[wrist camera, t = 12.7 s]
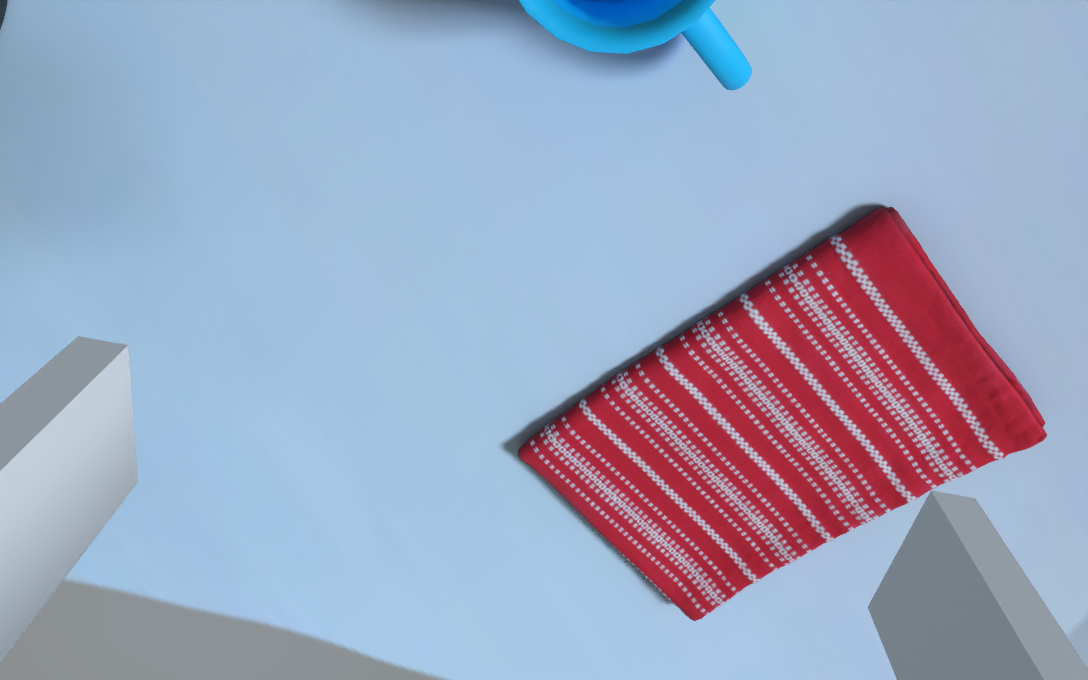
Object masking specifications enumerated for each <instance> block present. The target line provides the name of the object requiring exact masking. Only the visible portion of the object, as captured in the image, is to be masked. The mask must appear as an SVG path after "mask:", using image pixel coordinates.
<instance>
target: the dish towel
mask: <svg viewBox="0 0 1088 680" xmlns="http://www.w3.org/2000/svg"><path fill="white" fill-rule="evenodd" d="M1044 425H1045V421H1044V420H1043V418H1042V416H1041V414H1040V413H1039V411H1038V410H1037V408H1036V406H1035V405H1034V403H1033V401H1032V399H1031V397H1030V396H1029V394H1028V393H1027V392H1026V390H1025V389H1024V388H1023V386H1022V385H1021V384H1020V382H1019V381H1018V380H1017V378H1016V376H1015V375H1014V374H1013V373H1012V371H1011V370H1010V369H1009V368H1008V366H1007V365H1006V364H1005V363H1004V362H1003V360H1002V359H1001V358H1000V357H999V356H998V354H997V353H996V352H995V351H994V350H993V348H992V347H991V346H990V345H989V344H988V343H987V342H986V341H985V339H984V338H983V337H982V336H981V335H980V334H979V332H978V331H977V329H976V328H975V327H974V325H973V324H972V322H971V320H970V319H969V317H968V316H967V314H966V312H965V311H964V309H963V308H962V307H961V305H960V304H959V302H958V301H957V299H956V298H955V296H954V295H953V293H952V292H951V290H950V289H949V287H948V286H947V284H946V283H945V281H944V280H943V279H942V277H941V276H940V274H939V273H938V272H937V270H936V269H935V267H934V266H933V264H932V263H931V262H930V260H929V258H928V256H927V255H926V253H925V252H924V250H923V249H922V247H921V245H920V243H919V242H918V241H917V239H916V238H915V236H914V235H913V234H912V232H911V231H910V229H909V228H908V226H907V225H906V223H905V222H904V220H903V219H902V218H901V216H900V215H899V213H898V212H897V211H896V210H895V209H894V208H893V207H889V208H887V209H883V208H882V207H880V208H878V209H876V210H874V211H873V212H871V213H870V214H868V215H867V216H865V217H864V218H862V219H861V220H859V221H858V222H856V223H855V224H854V225H852V226H851V227H850V228H849V229H847V230H845V231H843V232H842V233H839V234H837V235H835V236H833V237H831V238H829V239H828V240H826V241H825V242H823V243H821V244H820V245H818V246H817V247H815V248H814V249H812V250H810V251H809V252H807V253H806V254H805V255H804V256H802V257H800V258H799V259H797V260H794V261H793V262H791V263H790V264H788V265H786V266H785V267H784V268H782V269H780V270H779V271H778V272H777V273H775V274H774V275H772V276H770V277H768V278H766V279H765V280H764V281H763V282H762V283H760V284H759V285H757V286H756V287H754V288H753V289H751V290H750V291H747V292H745V293H743V294H742V295H740V296H739V297H738V298H737V299H735V300H734V301H732V302H730V303H729V304H727V305H726V306H724V307H722V308H720V309H718V310H717V311H716V312H715V313H714V314H712V315H710V316H708V317H705V318H704V319H702V320H701V321H699V322H698V323H696V324H695V325H693V326H692V327H691V328H690V329H689V330H687V331H686V332H683V333H681V334H680V335H679V336H678V337H676V338H675V339H673V340H672V341H670V342H669V343H667V344H664V345H662V346H660V347H659V348H657V349H656V350H655V351H654V352H652V353H651V354H649V355H647V356H646V357H644V358H643V359H641V360H639V361H637V362H636V363H635V364H634V365H632V366H631V367H629V368H626V369H625V370H623V371H621V372H620V373H618V374H617V375H615V376H614V377H613V378H612V379H611V380H610V381H608V382H607V383H604V384H602V385H601V386H600V388H598V389H597V390H595V391H594V392H593V393H591V394H590V395H589V396H586V397H584V398H583V399H581V400H580V401H579V402H578V403H577V404H576V405H575V406H574V407H573V408H571V409H570V410H568V411H566V412H564V413H563V414H562V415H561V416H560V417H559V418H557V419H555V420H553V421H552V422H550V423H549V424H547V425H546V426H545V427H544V428H542V429H541V430H540V432H539V433H538V434H536V435H534V436H532V437H531V438H530V440H528V441H527V442H526V443H525V444H524V445H522V446H521V447H520V448H519V450H518V456H519V457H520V458H521V459H522V461H524V462H525V463H527V464H528V465H530V466H531V467H532V468H533V469H534V470H535V471H536V472H538V473H539V474H540V475H541V476H542V477H543V478H544V479H545V480H546V481H548V482H549V483H550V484H551V485H552V486H553V487H554V488H555V489H556V490H557V491H558V492H559V493H560V494H561V495H562V496H563V497H564V498H565V499H566V500H567V501H568V502H569V503H570V504H571V505H572V506H573V507H574V508H575V509H576V510H577V511H578V512H579V513H580V514H581V515H582V516H583V517H584V518H585V519H586V520H587V521H588V522H589V523H591V525H592V526H593V527H595V529H596V530H597V531H598V532H600V533H601V535H603V536H604V537H605V538H606V539H607V540H608V541H609V542H610V543H611V544H612V545H613V546H614V547H615V548H616V549H617V550H618V551H619V552H620V553H621V554H622V555H623V556H624V557H626V558H627V560H628V561H630V562H631V563H632V564H633V565H634V566H635V567H636V568H637V569H638V570H639V571H640V572H641V573H642V574H643V575H644V576H645V577H646V578H647V579H648V580H650V581H651V582H652V584H653V585H654V586H655V587H657V588H658V589H659V591H660V592H661V593H662V594H663V595H664V596H665V597H666V598H667V599H669V600H670V601H671V602H672V603H673V604H675V605H676V606H678V607H679V608H680V610H681V611H682V612H683V613H684V614H685V615H686V616H687V617H688V618H690V619H691V620H693V621H696V620H699V619H702V618H703V617H704V616H705V615H708V614H709V613H710V612H711V611H712V610H714V609H715V608H717V607H719V606H720V605H722V604H724V603H725V602H726V601H728V600H729V599H731V598H732V597H733V596H734V595H735V594H737V593H739V592H740V591H741V590H742V589H743V588H745V587H746V586H748V585H750V584H752V583H756V582H758V581H759V580H760V579H761V578H762V577H764V576H765V575H767V574H769V573H770V572H772V571H774V570H778V569H779V568H780V567H782V566H785V565H788V564H789V563H791V562H793V561H795V560H797V559H799V558H800V557H802V556H803V555H805V554H806V553H809V552H811V551H812V550H814V549H815V548H817V547H819V546H820V545H822V544H823V543H827V542H830V541H833V540H834V539H835V538H836V537H838V536H840V535H842V534H845V533H847V532H849V531H851V530H853V529H855V528H856V527H858V526H859V525H863V524H865V523H868V522H870V521H873V520H875V519H877V518H878V517H880V516H881V515H883V514H885V513H887V512H890V511H891V510H893V509H895V508H897V507H900V506H902V505H905V504H907V503H909V502H911V501H914V500H915V499H917V498H918V497H920V496H921V495H923V494H924V493H926V492H928V491H929V490H931V489H933V488H935V487H937V486H939V485H941V484H943V483H946V482H949V481H952V480H955V479H957V478H959V477H961V476H963V475H965V474H968V473H970V472H971V471H973V470H975V469H977V468H979V467H981V466H983V465H985V464H987V463H989V462H992V461H995V460H1000V459H1003V458H1004V457H1006V456H1007V455H1008V454H1010V453H1013V452H1017V451H1021V450H1025V449H1027V448H1030V447H1032V446H1034V445H1036V444H1038V443H1040V442H1042V441H1043V440H1044V439H1045V438H1046V436H1047V434H1046V432H1045V430H1044V429H1043V426H1044Z"/></svg>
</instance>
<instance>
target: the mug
mask: <svg viewBox="0 0 1088 680" xmlns="http://www.w3.org/2000/svg"><path fill="white" fill-rule="evenodd" d="M519 1H520V3H521V4H522V6H523V8H524V9H525V11H526V12H527V13H528V14H529V15H530V16H531V17H532V18H534V19H535V20H536V21H537V22H538V23H539V24H541V25H542V26H543V27H544V28H545V29H546V30H548V31H549V32H550V33H551V34H552V35H553V36H555V37H556V38H558V39H560V40H563V41H565V42H568V43H570V44H573V45H575V46H578V47H580V48H583V49H585V50H588V51H590V52H605V53H624V54H628V53H632V52H635V51H639V50H643V49H646V48H650V47H653V46H657V45H661V44H664V43H666V42H667V41H669V40H670V39H672V38H673V37H675V36H676V35H678V34H679V33H682V35H683V36H684V37H685V38H686V40H687V41H688V42H689V43H690V45H691V46H692V47H693V49H694V50H695V51H696V52H697V54H698V55H699V56H700V57H701V59H702V60H703V61H704V63H705V64H706V65H707V66H708V68H709V69H710V70H711V71H712V73H713V74H714V75H715V77H716V78H717V79H718V80H719V82H720V83H721V84H722V85H723V87H724V88H726V89H728V90H736V89H739V88H741V87H742V86H744V85H745V84H746V83H747V82H748V80H749V78H750V76H751V73H752V71H751V66H750V64H749V63H748V61H747V59H746V58H745V56H744V55H743V53H742V52H741V50H740V49H739V48H738V46H737V45H736V43H735V42H734V40H733V39H732V38H731V36H730V35H729V34H728V32H727V31H726V29H725V28H724V27H723V25H722V24H721V23H720V21H719V20H718V19H717V17H716V16H715V14H714V13H713V12H712V10H711V9H710V8H709V7H710V6H711V5H712V4H713V2H714V1H715V0H519Z"/></svg>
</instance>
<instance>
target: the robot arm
mask: <svg viewBox="0 0 1088 680" xmlns="http://www.w3.org/2000/svg"><path fill="white" fill-rule="evenodd" d="M6 7H7V0H0V29H1V26H2V23H3V20H4V16H5V11H6ZM137 482H138V478H137V464H136V450H135V436H134V422H133V408H132V394H131V380H130V366H129V352H128V345H123V344H118V343H112V342H107V341H101V340H96V339H90V338H84V337H79V336H78V337H77V338H76V339H75V340H74V341H72V342H71V343H70V344H69V345H68V346H67V347H65V348H64V349H63V350H62V351H61V352H60V353H59V354H57V355H56V356H55V357H54V358H53V359H52V360H50V361H49V362H48V363H47V364H46V365H45V366H44V367H42V368H41V369H40V370H39V371H38V372H37V373H35V374H34V375H33V376H32V377H31V378H30V379H29V380H27V381H26V382H25V383H24V384H23V385H22V386H21V387H19V388H18V389H17V390H16V391H15V392H14V393H12V394H11V395H10V396H9V397H8V398H7V399H6V400H4V401H3V402H2V403H1V404H0V662H1V661H2V660H3V658H4V657H5V656H6V655H7V653H8V652H9V650H10V649H11V648H12V647H13V645H14V644H15V643H16V641H17V640H18V639H19V637H20V636H21V634H22V633H23V632H24V630H25V629H26V628H27V627H28V626H29V624H30V623H31V622H32V620H33V619H34V617H35V616H36V615H37V614H38V612H39V611H40V610H41V609H42V607H43V606H44V604H45V603H46V602H47V600H48V599H49V598H50V597H51V595H52V594H53V593H54V591H55V590H56V589H57V588H58V586H59V585H60V584H61V582H62V581H63V580H64V578H65V577H66V576H67V574H68V573H69V572H70V570H71V569H72V568H73V567H74V565H75V564H76V563H77V561H78V560H79V559H80V557H81V556H82V555H83V553H84V552H85V551H86V549H87V548H88V547H89V545H90V544H91V543H92V542H93V540H94V539H95V538H96V536H97V535H98V534H99V532H100V531H101V530H102V528H103V527H104V526H105V524H106V523H107V522H108V521H109V519H110V518H111V517H112V515H113V514H114V513H115V511H116V510H117V509H118V507H119V506H120V505H121V503H122V502H123V501H124V500H125V498H126V497H127V496H128V494H129V493H130V492H131V490H132V489H133V488H134V486H135V485H136V484H137ZM868 609H869V612H870V614H871V617H872V619H873V621H874V624H875V626H876V629H877V631H878V634H879V636H880V639H881V641H882V644H883V646H884V648H885V651H886V653H887V656H888V658H889V661H890V663H891V666H892V668H893V671H894V673H895V675H896V678H897V680H1088V668H1087V667H1086V665H1085V664H1084V662H1083V661H1082V659H1081V658H1080V656H1079V655H1078V653H1077V652H1076V650H1075V649H1074V647H1073V646H1072V644H1071V643H1070V641H1069V639H1068V638H1067V636H1066V635H1065V633H1064V632H1063V630H1062V629H1061V627H1060V626H1059V624H1058V623H1057V621H1056V620H1055V618H1054V617H1053V615H1052V614H1051V612H1050V611H1049V609H1048V608H1047V606H1046V605H1045V603H1044V602H1043V600H1042V599H1041V597H1040V596H1039V594H1038V593H1037V591H1036V590H1035V588H1034V587H1033V585H1032V584H1031V582H1030V580H1029V579H1028V577H1027V576H1026V574H1025V573H1024V571H1023V570H1022V568H1021V567H1020V565H1019V564H1018V562H1017V561H1016V559H1015V558H1014V556H1013V555H1012V553H1011V552H1010V550H1009V549H1008V547H1007V546H1006V544H1005V543H1004V541H1003V540H1002V538H1001V537H1000V535H999V534H998V532H997V531H996V529H995V528H994V526H993V525H992V523H991V521H990V520H989V518H988V517H987V515H986V514H985V512H984V511H983V509H982V508H981V506H980V505H979V503H978V502H977V500H976V499H975V498H970V497H964V496H959V495H953V494H948V493H942V492H936V491H931V492H930V494H929V495H928V497H927V499H926V501H925V503H924V505H923V507H922V508H921V510H920V512H919V514H918V516H917V518H916V519H915V521H914V523H913V525H912V527H911V529H910V530H909V532H908V534H907V536H906V538H905V540H904V541H903V543H902V545H901V547H900V549H899V551H898V552H897V554H896V556H895V558H894V560H893V562H892V563H891V565H890V567H889V569H888V571H887V573H886V574H885V576H884V578H883V580H882V582H881V584H880V586H879V587H878V589H877V591H876V593H875V595H874V597H873V598H872V600H871V602H870V604H869V606H868Z"/></svg>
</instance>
